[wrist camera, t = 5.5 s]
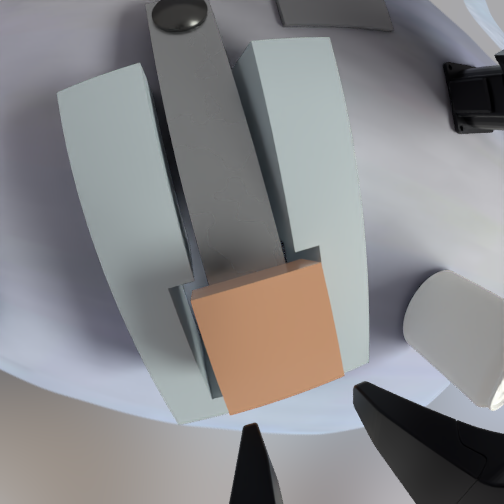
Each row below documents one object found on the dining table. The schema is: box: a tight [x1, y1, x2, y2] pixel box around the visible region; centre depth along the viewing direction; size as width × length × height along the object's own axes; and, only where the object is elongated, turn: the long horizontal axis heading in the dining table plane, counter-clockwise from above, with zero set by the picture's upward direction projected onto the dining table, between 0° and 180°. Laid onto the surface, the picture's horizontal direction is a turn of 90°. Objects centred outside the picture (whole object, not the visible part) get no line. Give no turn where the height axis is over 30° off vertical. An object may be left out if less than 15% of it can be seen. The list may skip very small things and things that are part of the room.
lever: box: [145, 0, 285, 285], centre depth 13 cm, size 21×4×1 cm, turn 12°
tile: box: [191, 259, 344, 415], centre depth 12 cm, size 5×5×2 cm
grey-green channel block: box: [57, 37, 369, 425], centre depth 16 cm, size 18×12×6 cm, turn 12°
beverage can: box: [403, 270, 504, 411], centre depth 20 cm, size 8×8×12 cm
